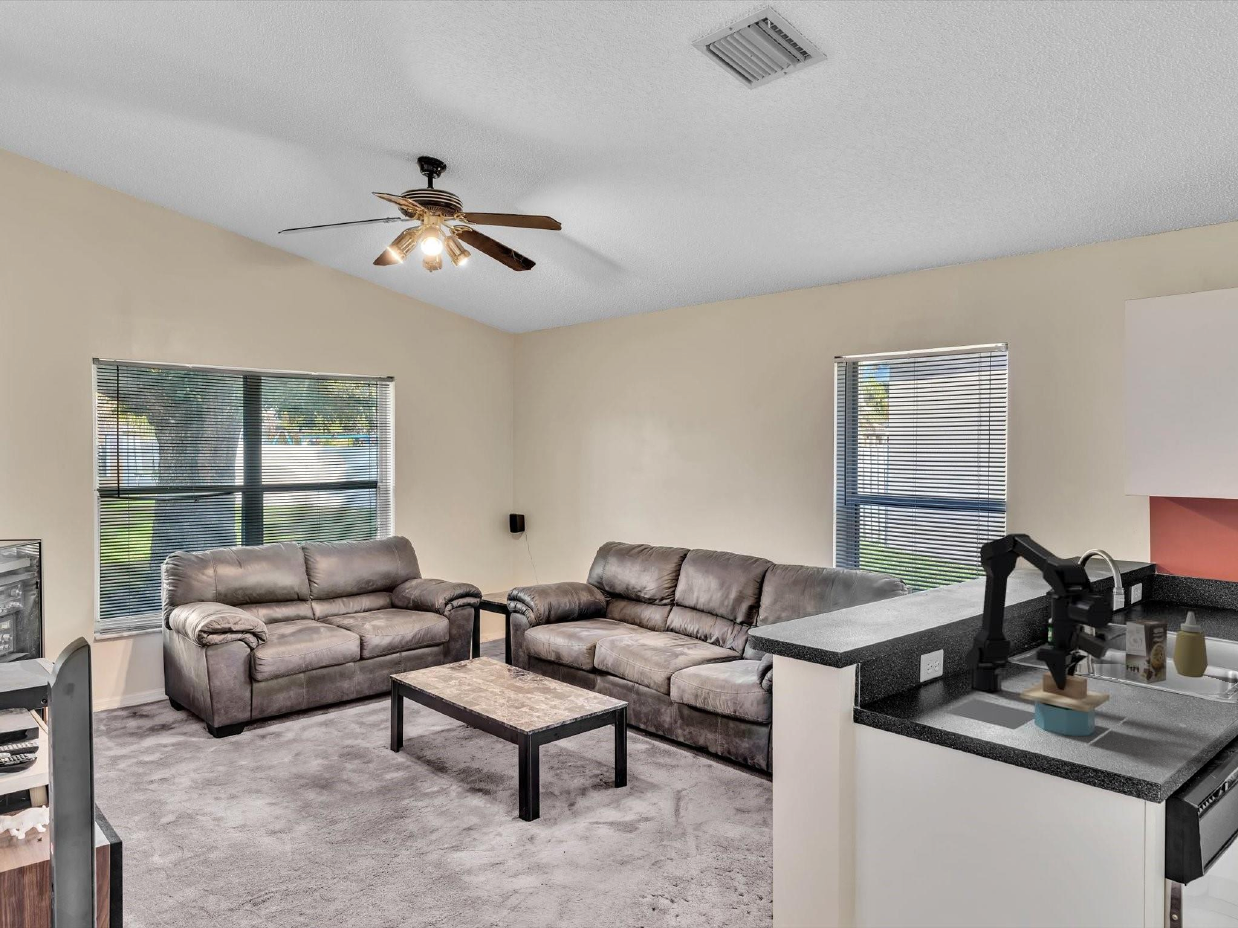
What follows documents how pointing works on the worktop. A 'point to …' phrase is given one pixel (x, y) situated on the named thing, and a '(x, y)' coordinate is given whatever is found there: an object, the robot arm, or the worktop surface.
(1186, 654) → the squeeze bottle
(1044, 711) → the bowl
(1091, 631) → the white tall piece
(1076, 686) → the lid
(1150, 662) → the cookie box
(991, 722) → the mat
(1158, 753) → the worktop surface
